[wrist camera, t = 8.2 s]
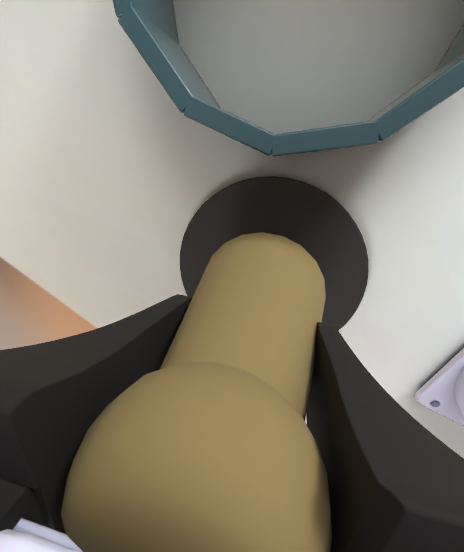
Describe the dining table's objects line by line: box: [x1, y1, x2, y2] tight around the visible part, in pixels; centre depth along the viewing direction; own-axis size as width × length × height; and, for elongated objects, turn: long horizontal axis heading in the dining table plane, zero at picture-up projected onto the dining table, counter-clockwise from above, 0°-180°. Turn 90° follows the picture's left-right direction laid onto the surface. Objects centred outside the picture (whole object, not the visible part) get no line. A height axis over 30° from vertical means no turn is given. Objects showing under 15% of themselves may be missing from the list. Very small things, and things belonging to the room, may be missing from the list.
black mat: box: [180, 177, 368, 330], centre depth 16 cm, size 10×10×1 cm
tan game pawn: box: [61, 232, 333, 552], centre depth 9 cm, size 6×6×11 cm
